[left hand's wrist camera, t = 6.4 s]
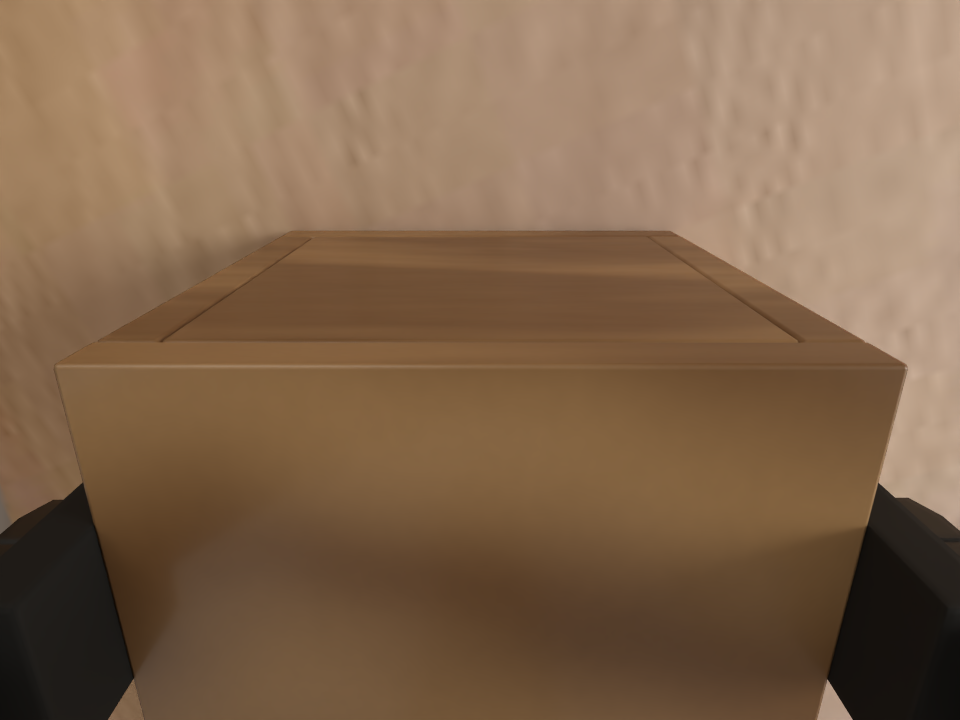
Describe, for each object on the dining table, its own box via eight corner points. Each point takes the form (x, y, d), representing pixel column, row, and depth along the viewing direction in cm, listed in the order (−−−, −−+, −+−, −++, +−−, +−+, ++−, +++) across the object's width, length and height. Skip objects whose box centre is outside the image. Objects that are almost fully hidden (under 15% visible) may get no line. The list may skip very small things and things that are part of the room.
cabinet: (617, 741, 23) (707, 1147, 14) (343, 741, 23) (253, 1146, 14) (672, 230, 17) (912, 365, 7) (289, 230, 17) (49, 365, 7)
